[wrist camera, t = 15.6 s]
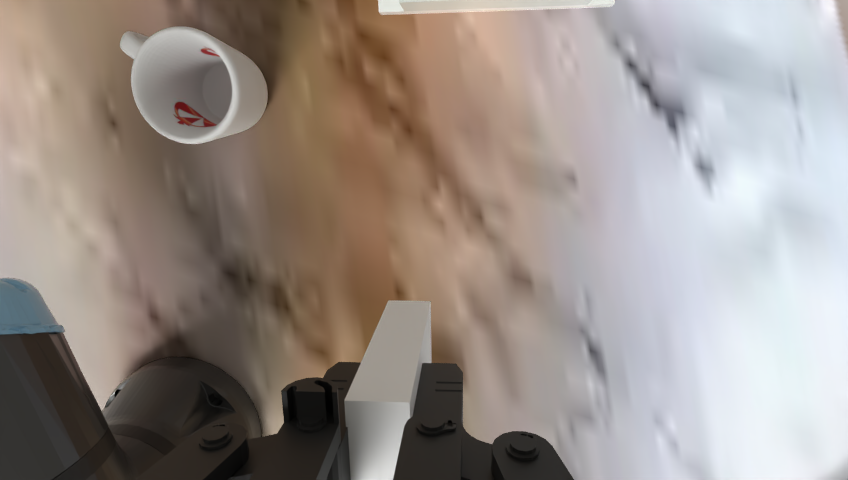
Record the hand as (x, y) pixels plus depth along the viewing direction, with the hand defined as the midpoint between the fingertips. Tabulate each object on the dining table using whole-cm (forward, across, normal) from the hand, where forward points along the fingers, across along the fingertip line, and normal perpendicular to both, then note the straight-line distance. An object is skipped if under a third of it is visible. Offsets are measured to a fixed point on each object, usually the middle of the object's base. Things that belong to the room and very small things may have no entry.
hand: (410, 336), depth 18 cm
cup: (+27, -19, +11) cm, 34 cm away
